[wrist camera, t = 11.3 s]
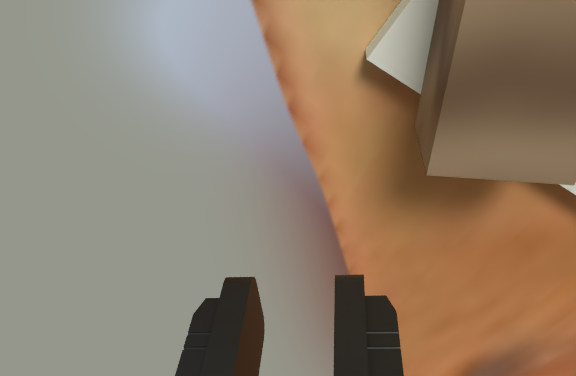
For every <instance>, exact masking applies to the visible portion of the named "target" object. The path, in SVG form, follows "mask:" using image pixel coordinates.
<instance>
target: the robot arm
mask: <svg viewBox="0 0 576 376" xmlns="http://www.w3.org/2000/svg"><path fill="white" fill-rule="evenodd" d="M263 341H264V316H263V312H262V307H261V302H260V297H259V292H258V288H257V283H256V279H255V278H254V277H229V278H228V277H227V278H225V280H224V283H223V287H222V291H221V295H220V298H206V299H205V300H204V302H203V303H202V304H201V305H200V307H199V308H198V309H197V310H196V312H195V313H194V314H193V317H192V321H191V324H190V327H189V331H188V336H187V338H186V341H185V344H184V350H183V351H182V354H181V358H180V361H179V364H178V368H177V371H176V374H175V376H258V375H259V367H260V362H261V355H262V348H263ZM334 376H404V374H403V365H402V357H401V349H400V339H399V330H398V321H397V312H396V310H395V309H394V307H393V306H392V304H391V303H390V301H389V300H388V298H387V296H365V292H364V275H335V317H334Z"/></svg>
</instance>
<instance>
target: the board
mask: <svg viewBox="0 0 576 376" xmlns="http://www.w3.org/2000/svg"><path fill="white" fill-rule="evenodd" d="M438 2H439V0H401V2H400V3H399V4H398V6H397V7H396V8H395V10H394V11H393V13H392V14H391V15H390V17H389V18H388V19H387V21H386V22H385V23H384V25H383V26H382V27H381V29H380V30H379V31H378V33H377V34H376V36H375V37H374V38H373V40H372V41H371V42H370V44H369V45H368V46H367V48H366V49H365V50H366V59H367V60H368V61H370V62H371V63H373V64H374V65H376V66H377V67H379V68H380V69H382V70H384V71H385V72H387V73H388V74H390V75H391V76H393V77H394V78H396V79H397V80H399V81H401V82H402V83H404V84H405V85H407V86H408V87H410V88H411V89H413V90H414V91H416V92H417V93H419V94H421V90H422V85H423V80H424V75H425V69H426V64H427V59H428V54H429V49H430V44H431V38H432V33H433V28H434V23H435V18H436V12H437V7H438ZM559 185H561V184H559ZM561 186H562V187H564V188H565V189H567V190H569V191H570V192H572V193H573V194H575V195H576V182H575V185H561Z"/></svg>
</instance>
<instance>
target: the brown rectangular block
mask: <svg viewBox="0 0 576 376" xmlns="http://www.w3.org/2000/svg"><path fill="white" fill-rule="evenodd" d="M415 129H416V133H417V138H418V142H419V146H420V150H421V154H422V158H423V163H424V167H425V171H426V175H429V176H444V177H458V178H473V179H488V180H503V181H517V182H532V183H547V184H561V185H575V182H576V0H439V2H438V7H437V12H436V18H435V23H434V28H433V33H432V38H431V44H430V49H429V54H428V59H427V64H426V69H425V75H424V80H423V85H422V90H421V95H420V101H419V106H418V111H417V116H416V121H415Z"/></svg>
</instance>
